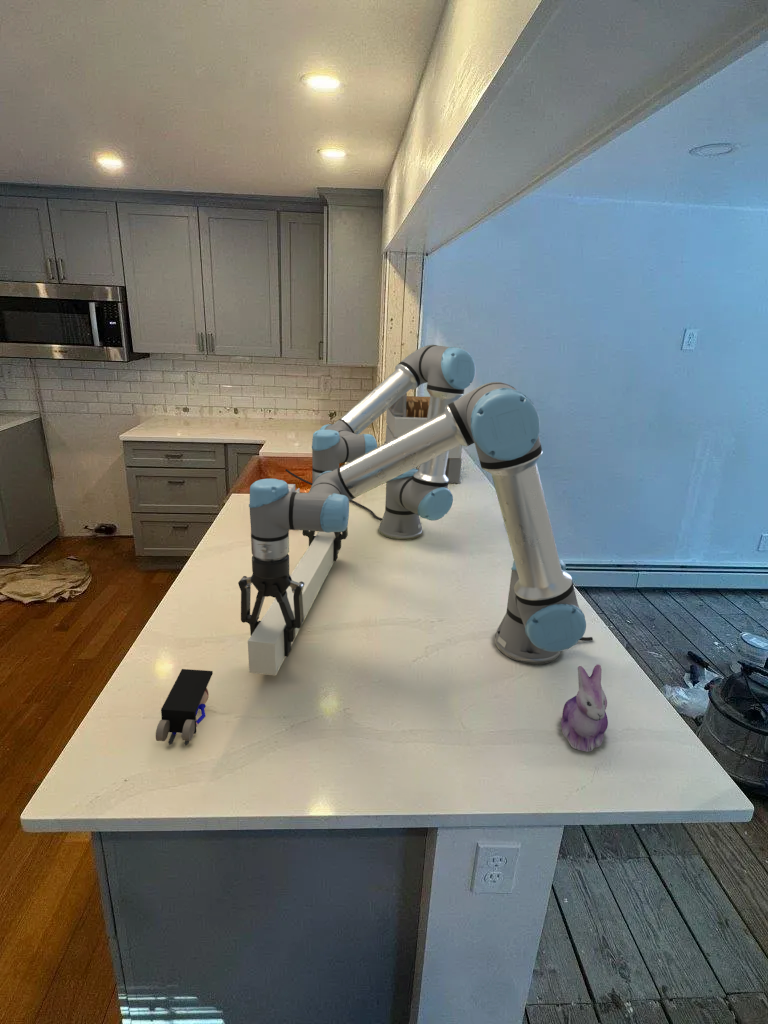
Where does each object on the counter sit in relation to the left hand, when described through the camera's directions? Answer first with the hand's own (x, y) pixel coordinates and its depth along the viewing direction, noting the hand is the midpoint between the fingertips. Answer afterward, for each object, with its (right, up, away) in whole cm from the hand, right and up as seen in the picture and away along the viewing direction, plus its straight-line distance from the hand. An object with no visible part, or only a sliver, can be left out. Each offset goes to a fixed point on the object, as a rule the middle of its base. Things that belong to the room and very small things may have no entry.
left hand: (324, 558), depth 170 cm
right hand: (-6, -16, -46) cm, 50 cm away
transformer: (+35, +33, +105) cm, 115 cm away
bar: (-3, -9, -23) cm, 25 cm away
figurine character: (-19, -26, -64) cm, 72 cm away
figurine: (+56, -29, -62) cm, 88 cm away
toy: (-21, +12, +42) cm, 49 cm away
